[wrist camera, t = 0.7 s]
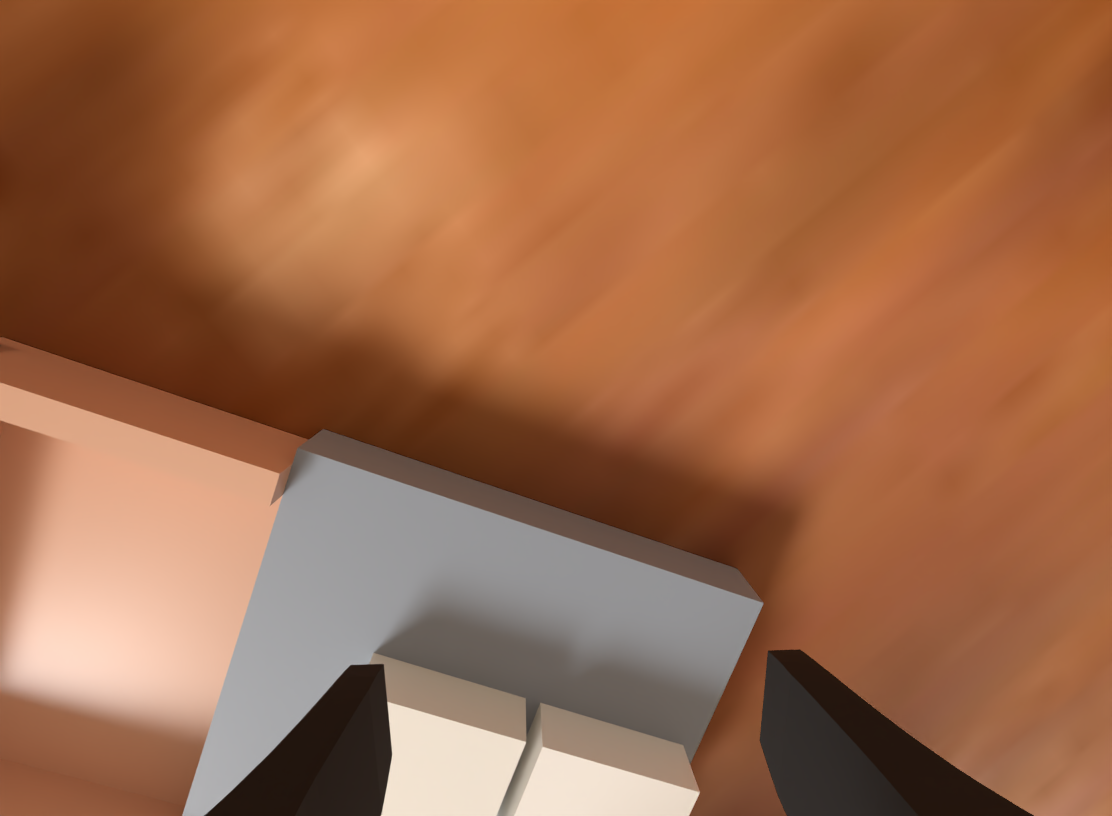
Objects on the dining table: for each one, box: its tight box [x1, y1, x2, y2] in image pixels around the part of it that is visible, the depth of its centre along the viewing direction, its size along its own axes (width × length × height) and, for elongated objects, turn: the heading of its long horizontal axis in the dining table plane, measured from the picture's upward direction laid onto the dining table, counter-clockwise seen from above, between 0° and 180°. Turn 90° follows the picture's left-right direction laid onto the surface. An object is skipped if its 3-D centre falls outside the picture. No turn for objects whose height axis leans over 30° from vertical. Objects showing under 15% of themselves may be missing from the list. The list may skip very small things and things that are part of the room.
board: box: [182, 429, 764, 816], centre depth 22 cm, size 16×15×2 cm
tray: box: [0, 337, 309, 816], centre depth 20 cm, size 15×10×4 cm, turn 160°
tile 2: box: [369, 653, 526, 816], centre depth 20 cm, size 5×5×2 cm
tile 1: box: [496, 703, 700, 816], centre depth 20 cm, size 5×5×2 cm
